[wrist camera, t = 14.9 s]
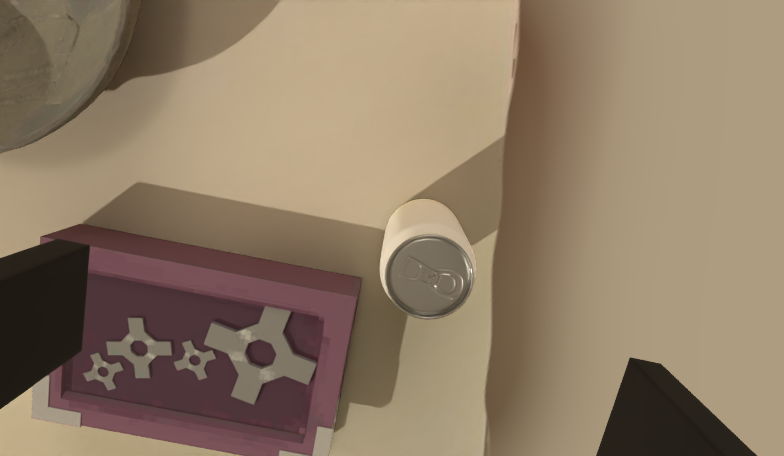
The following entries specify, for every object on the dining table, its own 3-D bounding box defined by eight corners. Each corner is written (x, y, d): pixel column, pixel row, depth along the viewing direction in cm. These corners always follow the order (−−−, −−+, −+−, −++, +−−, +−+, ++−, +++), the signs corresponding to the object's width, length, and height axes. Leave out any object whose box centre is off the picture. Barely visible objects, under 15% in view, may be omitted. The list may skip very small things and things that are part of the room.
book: (70, 387, 47) (31, 418, 42) (79, 223, 44) (38, 236, 39) (333, 436, 47) (325, 473, 43) (363, 278, 44) (358, 298, 39)
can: (441, 281, 44) (454, 341, 32) (373, 253, 43) (362, 303, 32) (472, 215, 42) (498, 251, 31) (403, 185, 42) (401, 211, 30)
